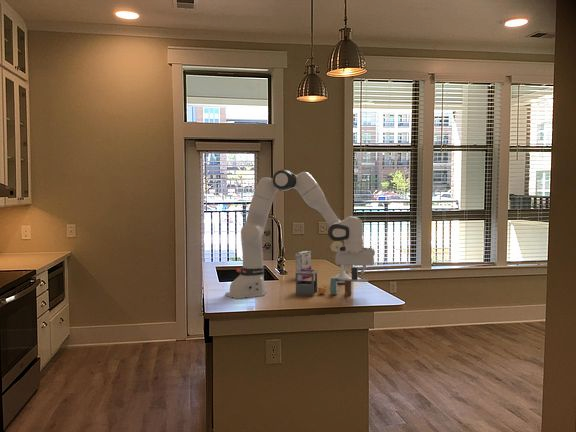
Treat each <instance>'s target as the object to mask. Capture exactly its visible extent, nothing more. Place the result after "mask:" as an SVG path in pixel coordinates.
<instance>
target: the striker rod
mask: <svg viewBox="0 0 576 432" xmlns="http://www.w3.org/2000/svg"><path fill="white" fill-rule="evenodd" d="M358 276H359V268H358V266H351V279H348V278H337V277H335V276H333V277H332V276H331V277H330V285H329V286H330V288H329V289H330V293H329V294H330V295H337V294H338V283H337V281H345V280H351V283H352V282H354V283H369V279H368V278H358Z"/></svg>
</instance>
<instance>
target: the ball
mask: <svg viewBox="0 0 576 432" xmlns="http://www.w3.org/2000/svg"><path fill="white" fill-rule="evenodd" d="M326 291H327V290H326V288H325V287H324V286H319V288H317V293H318V294H320V295H324V294H325V293H326Z"/></svg>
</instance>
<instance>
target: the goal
mask: <svg viewBox="0 0 576 432" xmlns="http://www.w3.org/2000/svg"><path fill="white" fill-rule="evenodd" d="M302 271H311V272H312V273H302ZM302 275H311V277H310V278H311V280H308V279H307V280H305V279H302ZM315 293H318V269H311V270H299V271H298V272H296V271H295V296H296V297H315Z"/></svg>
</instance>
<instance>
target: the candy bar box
mask: <svg viewBox="0 0 576 432" xmlns="http://www.w3.org/2000/svg"><path fill="white" fill-rule="evenodd" d="M294 254H295V255H294V256H295V258H294V259H295V273H296V272H298V271H299V270H312V251H311V250H303V251H299V252H295V253H294ZM302 273H313V272H311V271H302ZM307 278H312V277H311V275H302V280H305V279H307Z"/></svg>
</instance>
